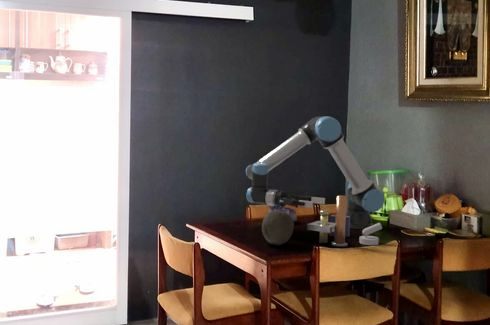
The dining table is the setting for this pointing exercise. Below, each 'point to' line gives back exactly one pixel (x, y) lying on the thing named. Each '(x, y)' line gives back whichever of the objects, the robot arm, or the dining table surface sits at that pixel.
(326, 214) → the glass vial
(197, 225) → the dining table surface
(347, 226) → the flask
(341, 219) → the rosette bracket
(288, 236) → the cantaloupe
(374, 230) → the wall hook
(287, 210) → the geode
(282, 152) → the robot arm
